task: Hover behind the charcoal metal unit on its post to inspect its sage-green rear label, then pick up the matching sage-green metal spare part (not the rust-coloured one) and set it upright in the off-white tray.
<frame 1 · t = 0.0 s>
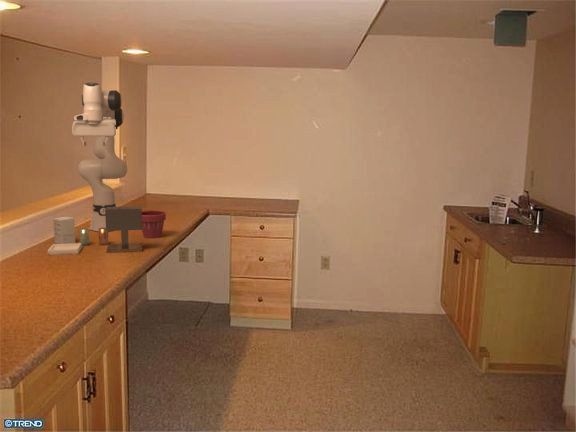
hand: (94, 145, 280), 48 cm above the table, fingers open, 8 cm apart
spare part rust: (103, 244, 282), on the table
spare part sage: (84, 245, 280), on the table
mounted unit: (125, 249, 272), on the table
supplement box: (65, 243, 284), on the table
plant pot: (152, 236, 301), on the table
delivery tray: (65, 251, 267), on the table
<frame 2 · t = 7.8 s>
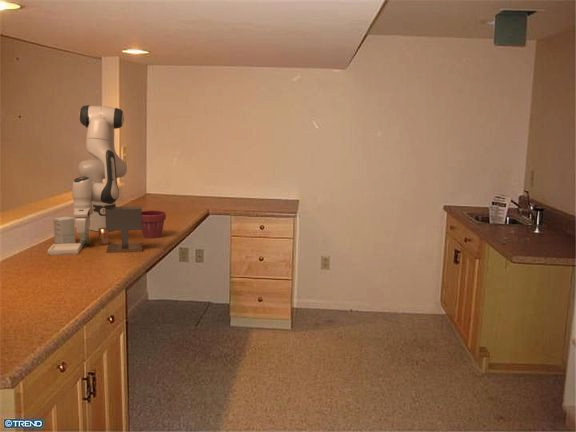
hand: (84, 238, 279), 3 cm above the table, fingers closed on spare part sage, 4 cm apart
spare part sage: (84, 245, 280), on the table, touching gripper
everything else where it was.
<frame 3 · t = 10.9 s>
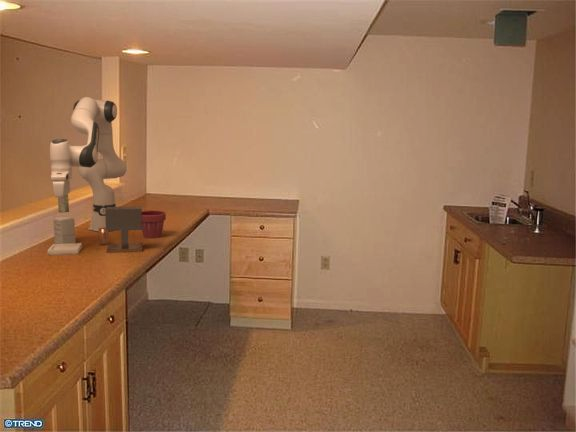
hand: (63, 205, 263), 22 cm above the table, fingers closed on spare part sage, 4 cm apart
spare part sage: (63, 211, 264), point 19 cm above the table, touching gripper
everything else where it was.
when the fingers open (6 cm above the table, at t = 14.3 s): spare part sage drops 2 cm, resting on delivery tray.
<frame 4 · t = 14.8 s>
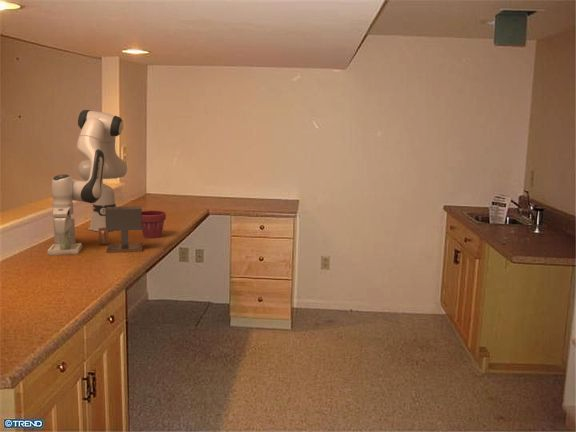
hand: (64, 239, 266), 6 cm above the table, fingers open, 8 cm apart
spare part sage: (65, 249, 267), point 1 cm above the table, touching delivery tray
everything else where it was.
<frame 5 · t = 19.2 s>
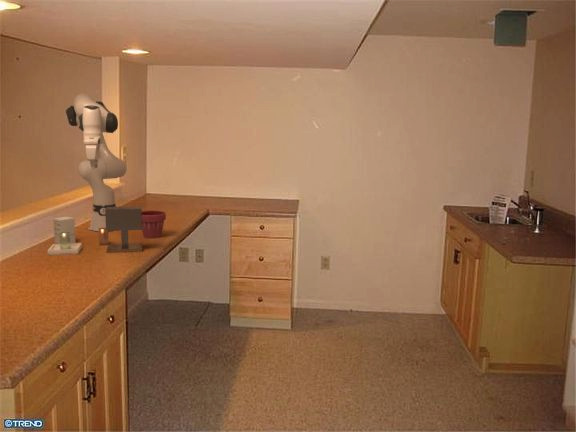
hand: (94, 168, 276), 37 cm above the table, fingers open, 8 cm apart
nothing on the table moved.
at the end: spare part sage inside the target area on the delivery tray (0.1 cm from its centre), point 0.8 cm above the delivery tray's base; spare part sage tilted 0°; the gripper is holding nothing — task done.
